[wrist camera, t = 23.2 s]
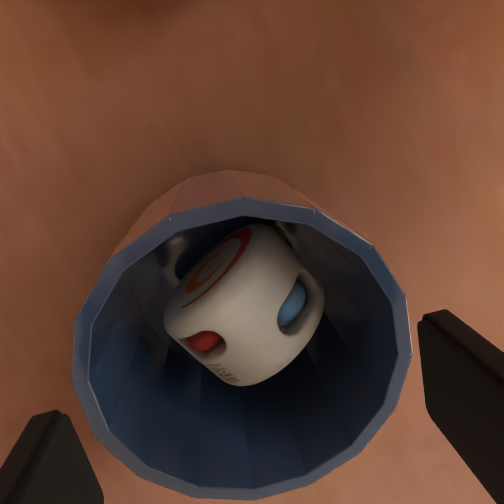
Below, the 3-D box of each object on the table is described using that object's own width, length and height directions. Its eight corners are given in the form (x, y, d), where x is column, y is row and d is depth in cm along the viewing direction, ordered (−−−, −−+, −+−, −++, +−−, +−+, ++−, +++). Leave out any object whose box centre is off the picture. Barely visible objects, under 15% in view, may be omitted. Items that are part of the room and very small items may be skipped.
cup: (94, 199, 18) (13, 253, 11) (315, 146, 19) (391, 160, 11) (160, 388, 21) (135, 533, 14) (348, 339, 22) (424, 454, 14)
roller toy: (319, 268, 20) (363, 324, 14) (222, 351, 20) (228, 435, 15) (258, 201, 18) (281, 234, 13) (158, 293, 19) (138, 360, 14)
